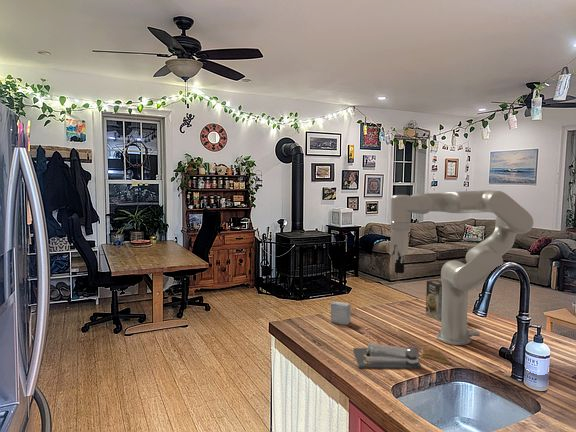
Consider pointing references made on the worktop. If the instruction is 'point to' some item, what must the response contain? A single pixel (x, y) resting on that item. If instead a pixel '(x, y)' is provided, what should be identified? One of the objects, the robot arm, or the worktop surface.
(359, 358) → the divider base plate
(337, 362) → the worktop surface
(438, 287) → the coffee box
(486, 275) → the robot arm
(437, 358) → the shard
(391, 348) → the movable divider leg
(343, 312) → the medicine box
